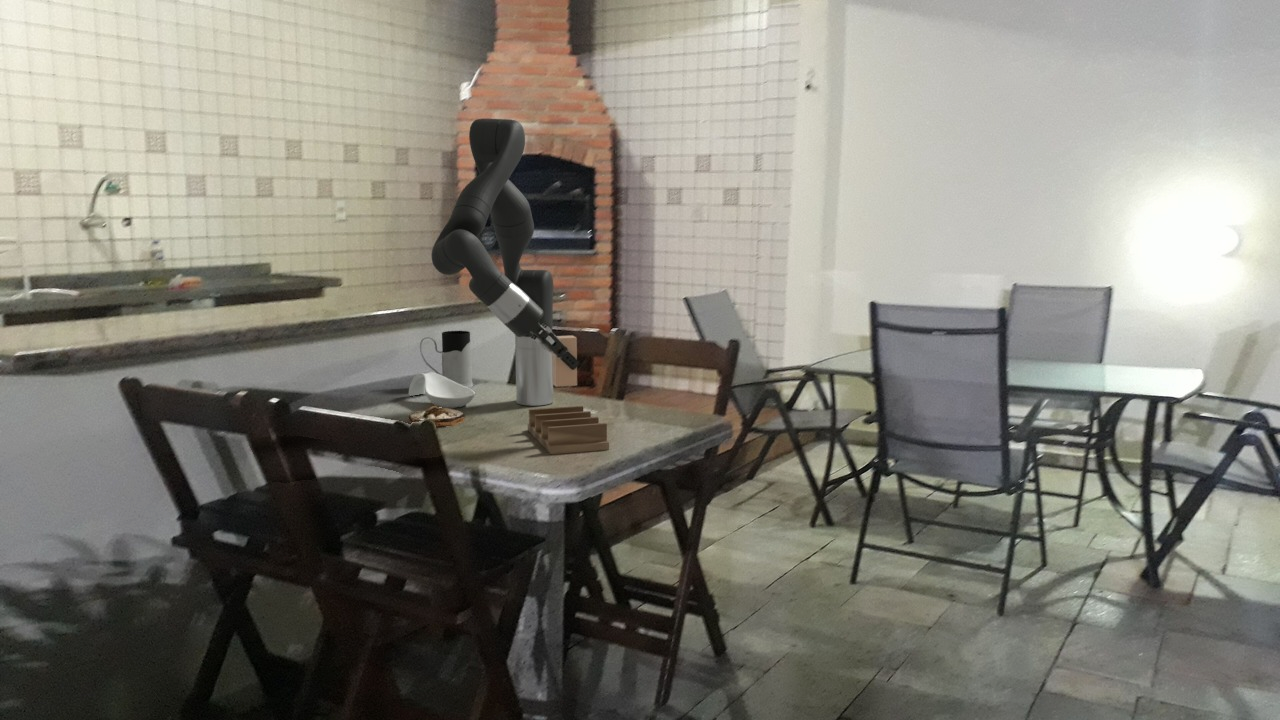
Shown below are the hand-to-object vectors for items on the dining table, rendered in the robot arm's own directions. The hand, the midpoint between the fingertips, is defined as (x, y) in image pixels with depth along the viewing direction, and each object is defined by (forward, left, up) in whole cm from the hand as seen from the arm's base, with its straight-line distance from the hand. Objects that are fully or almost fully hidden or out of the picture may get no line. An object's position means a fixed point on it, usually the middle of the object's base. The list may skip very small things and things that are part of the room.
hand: (573, 364), depth 196 cm
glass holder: (-69, -18, -16) cm, 73 cm away
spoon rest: (-48, -23, -16) cm, 56 cm away
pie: (-26, -26, -17) cm, 40 cm away
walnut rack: (0, -2, -16) cm, 16 cm away
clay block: (0, -2, -4) cm, 5 cm away
